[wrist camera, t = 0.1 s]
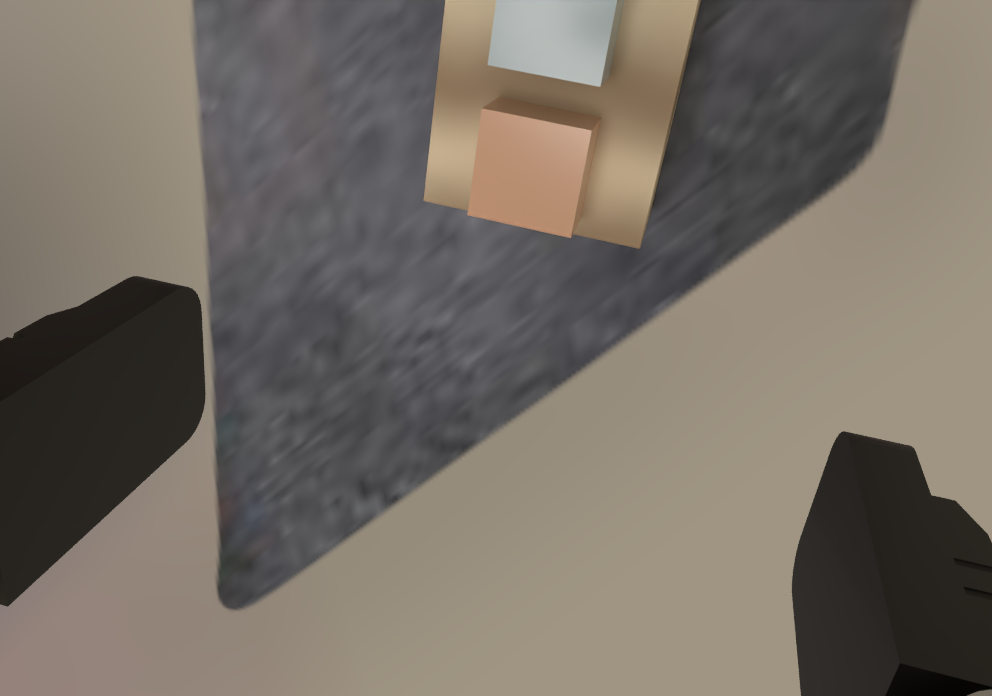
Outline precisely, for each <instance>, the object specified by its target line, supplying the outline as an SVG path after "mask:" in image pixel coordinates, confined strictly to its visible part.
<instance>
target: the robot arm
mask: <svg viewBox="0 0 992 696" xmlns="http://www.w3.org/2000/svg"><path fill="white" fill-rule="evenodd" d="M204 404H205V375H204V353H203V332H202V312H201V304H200V300H199V297H198V295H197V293H196V292H195V291H194V290H193V289H191V288H189V287H185V286H180V285H175V284H171V283H166V282H161V281H157V280H153V279H148V278H144V277H138V276H133V277H130V278H128V279H126V280H124V281H122V282H120V283H119V284H117V285H115V286H113V287H111V288H110V289H108V290H106V291H104V292H103V293H101V294H99V295H98V296H95V297H94V298H92V299H90V300H89V301H87V302H85V303H83V304H81V305H80V306H78V307H74V308H71V309H67V310H64V311H61V312H57V313H54V314H51V315H47V316H45V317H43V318H41V319H39V320H38V321H36V322H34V323H32V324H30V325H29V326H27V327H25V328H23V329H21V330H19V331H18V332H16V333H14V336H13V338H8V337H7V338H5V339H3V340H1V341H0V604H1V605H4V606H9V605H10V604H11V603H12V602H13V601H14V600H15V599H16V598H17V597H19V595H21V594H22V593H23V592H24V591H25V590H26V589H27V588H28V587H29V586H31V585H32V583H34V582H35V581H36V580H37V579H38V578H39V577H40V576H41V575H42V574H43V573H45V572H46V571H47V570H48V569H49V568H50V567H51V566H52V565H53V564H54V563H55V562H57V561H58V560H59V559H60V558H61V557H62V556H63V555H64V554H65V553H66V552H67V551H69V550H70V549H71V548H72V547H73V546H74V545H75V544H76V543H77V542H78V541H79V540H80V539H82V538H83V536H85V535H86V534H87V533H88V532H89V531H90V530H91V529H92V528H93V527H94V526H96V525H97V524H98V523H99V522H100V521H101V520H102V519H103V518H104V517H105V516H107V515H108V514H109V513H110V512H111V511H112V510H113V509H114V508H115V507H116V506H117V505H118V504H119V503H120V502H122V501H123V500H124V499H125V498H126V497H127V496H128V495H129V494H130V493H131V492H133V491H134V490H135V489H136V488H137V487H138V486H139V485H140V484H141V483H142V482H143V481H144V480H146V479H147V478H148V477H149V476H150V475H151V474H152V473H153V472H154V471H155V470H156V469H157V468H159V467H160V466H161V465H162V464H163V463H164V462H165V461H166V460H167V459H168V458H169V457H170V456H172V455H173V454H174V453H175V452H176V451H177V450H178V449H179V448H180V447H181V446H182V445H184V444H185V443H186V442H187V441H188V440H189V439H190V437H191V436H192V435H193V433H194V432H195V430H196V428H197V426H198V424H199V422H200V419H201V417H202V413H203V410H204ZM792 597H793V609H794V621H795V631H796V644H797V654H798V666H799V677H800V689H801V696H992V543H991V540H990V538H989V536H988V534H987V533H986V532H985V531H984V530H983V529H982V528H981V527H980V526H979V525H978V524H977V523H976V522H975V521H974V520H973V519H972V518H971V517H970V515H969V514H968V513H967V512H966V511H965V510H964V509H963V508H962V507H961V506H960V505H959V504H958V503H957V502H956V501H954V500H950V499H945V498H941V497H936V496H932V495H931V493H930V491H929V488H928V485H927V482H926V480H925V476H924V474H923V471H922V468H921V465H920V462H919V460H918V457H917V454H916V451H915V449H914V448H913V447H912V446H909V445H904V444H900V443H895V442H890V441H886V440H881V439H877V438H872V437H867V436H862V435H858V434H854V433H849V432H841V433H840V434H839V435H838V437H837V438H836V440H835V442H834V444H833V446H832V449H831V451H830V454H829V457H828V460H827V463H826V466H825V469H824V471H823V475H822V477H821V480H820V483H819V486H818V489H817V492H816V494H815V498H814V500H813V503H812V506H811V509H810V512H809V515H808V517H807V520H806V523H805V526H804V529H803V532H802V535H801V538H800V541H799V544H798V548H797V553H796V557H795V563H794V569H793V578H792Z"/></svg>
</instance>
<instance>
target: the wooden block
mask: <svg viewBox="0 0 992 696" xmlns="http://www.w3.org/2000/svg"><path fill="white" fill-rule="evenodd" d="M700 3H701V0H625V1H624V6H623V11H622V16H621V21H620V26H619V31H618V36H617V41H616V47H615V52H614V57H613V62H612V67H611V72H610V76H609V78H608V79H607V80H606V81H605V82H604V83H603V84H602V85H601V87H598V86H593V85H588V84H583V83H578V82H572V81H567V80H562V79H557V78H552V77H547V76H542V75H536V74H531V73H526V72H521V71H516V70H511V69H506V68H500V67H495V66H490V65H488V58H489V51H490V43H491V36H492V29H493V21H494V14H495V6H496V0H445V9H444V18H443V28H442V37H441V46H440V55H439V64H438V74H437V83H436V92H435V101H434V111H433V120H432V129H431V138H430V148H429V157H428V166H427V175H426V184H425V194H424V201H427V202H431V203H436V204H440V205H445V206H449V207H454V208H458V209H463V210H467V211H468V208H469V200H470V193H471V185H472V178H473V170H474V163H475V155H476V148H477V140H478V133H479V126H480V118H481V111H482V108H483V107H485V106H486V105H487V104H489V103H490V102H492V101H493V100H495V99H496V98H498V97H502V98H507V99H512V100H517V101H522V102H527V103H532V104H537V105H542V106H547V107H552V108H557V109H562V110H567V111H572V112H577V113H582V114H587V115H593V116H598V117H601V122H600V127H599V132H598V137H597V142H596V147H595V152H594V157H593V162H592V167H591V172H590V177H589V182H588V187H587V192H586V197H585V202H584V207H583V212H582V217H581V220H580V222H579V224H578V226H577V227H576V229H575V231H574V233H573V234H576V235H580V236H585V237H589V238H594V239H598V240H603V241H607V242H612V243H616V244H621V245H625V246H630V247H634V248H639V249H640V246H641V243H642V240H643V236H644V233H645V230H646V226H647V223H648V220H649V216H650V213H651V210H652V205H653V201H654V197H655V193H656V189H657V184H658V180H659V176H660V172H661V168H662V163H663V159H664V155H665V151H666V146H667V142H668V138H669V134H670V130H671V125H672V121H673V117H674V113H675V109H676V104H677V100H678V96H679V92H680V88H681V83H682V79H683V75H684V71H685V66H686V62H687V58H688V54H689V50H690V45H691V41H692V37H693V33H694V29H695V24H696V20H697V16H698V12H699V8H700Z"/></svg>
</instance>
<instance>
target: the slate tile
mask: <svg viewBox="0 0 992 696" xmlns="http://www.w3.org/2000/svg"><path fill="white" fill-rule="evenodd" d="M624 1H625V0H496V6H495V14H494V21H493V29H492V36H491V43H490V51H489V58H488V65H490V66H495V67H500V68H506V69H511V70H516V71H521V72H526V73H531V74H536V75H542V76H547V77H552V78H557V79H562V80H567V81H572V82H578V83H583V84H588V85H593V86H598V87H601V85H602V84H603V83H604V82H605V81H606V80H607V79H608V78H609V76H610V72H611V67H612V62H613V57H614V52H615V47H616V41H617V36H618V31H619V26H620V21H621V16H622V11H623V6H624Z"/></svg>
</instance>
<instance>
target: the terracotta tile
mask: <svg viewBox="0 0 992 696" xmlns="http://www.w3.org/2000/svg"><path fill="white" fill-rule="evenodd" d="M600 122H601V117H598V116H593V115H587V114H582V113H577V112H572V111H567V110H562V109H557V108H552V107H547V106H542V105H537V104H532V103H527V102H522V101H517V100H512V99H507V98H502V97H498V98H496V99H495V100H493V101H492V102H490V103H489V104H487V105H486V106H485V107H483V108H482V111H481V118H480V126H479V133H478V140H477V148H476V155H475V163H474V170H473V178H472V185H471V193H470V200H469V208H468V215H470V216H474V217H479V218H483V219H488V220H492V221H497V222H501V223H506V224H510V225H515V226H519V227H524V228H528V229H533V230H537V231H542V232H546V233H551V234H555V235H560V236H564V237H568V238H571V237H572V235H573V233H574V231H575V229H576V227H577V226H578V224H579V222H580V220H581V217H582V212H583V207H584V202H585V197H586V192H587V187H588V182H589V177H590V172H591V167H592V162H593V157H594V152H595V147H596V142H597V137H598V132H599V127H600Z"/></svg>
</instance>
